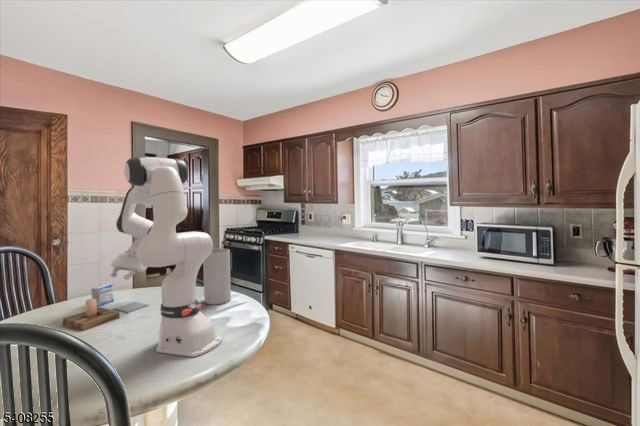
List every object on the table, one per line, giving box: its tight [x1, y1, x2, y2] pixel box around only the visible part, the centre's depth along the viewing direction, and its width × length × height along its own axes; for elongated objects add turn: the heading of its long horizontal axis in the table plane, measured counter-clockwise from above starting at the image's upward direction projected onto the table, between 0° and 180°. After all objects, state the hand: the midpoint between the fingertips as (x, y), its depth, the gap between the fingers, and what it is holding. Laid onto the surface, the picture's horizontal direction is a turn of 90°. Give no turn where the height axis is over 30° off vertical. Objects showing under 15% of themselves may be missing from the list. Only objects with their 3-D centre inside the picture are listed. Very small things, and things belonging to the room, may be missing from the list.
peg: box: [85, 298, 98, 319], centre depth 131 cm, size 4×4×9 cm
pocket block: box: [62, 306, 120, 332], centre depth 131 cm, size 14×14×2 cm
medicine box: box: [91, 283, 115, 307], centre depth 152 cm, size 8×4×9 cm, turn 168°
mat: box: [113, 301, 149, 314], centre depth 146 cm, size 10×10×1 cm
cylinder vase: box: [202, 248, 232, 306], centre depth 154 cm, size 12×12×25 cm
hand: (118, 277), depth 141 cm, fingers open, 8 cm apart
